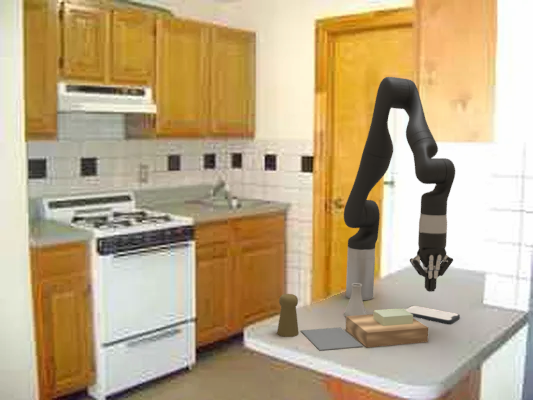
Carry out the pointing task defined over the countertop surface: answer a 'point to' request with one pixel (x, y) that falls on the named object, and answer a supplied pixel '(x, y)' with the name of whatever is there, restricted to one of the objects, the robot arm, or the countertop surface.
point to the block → (393, 317)
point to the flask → (355, 302)
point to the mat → (331, 339)
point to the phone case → (433, 314)
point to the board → (385, 331)
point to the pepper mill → (288, 316)
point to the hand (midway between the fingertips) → (430, 290)
